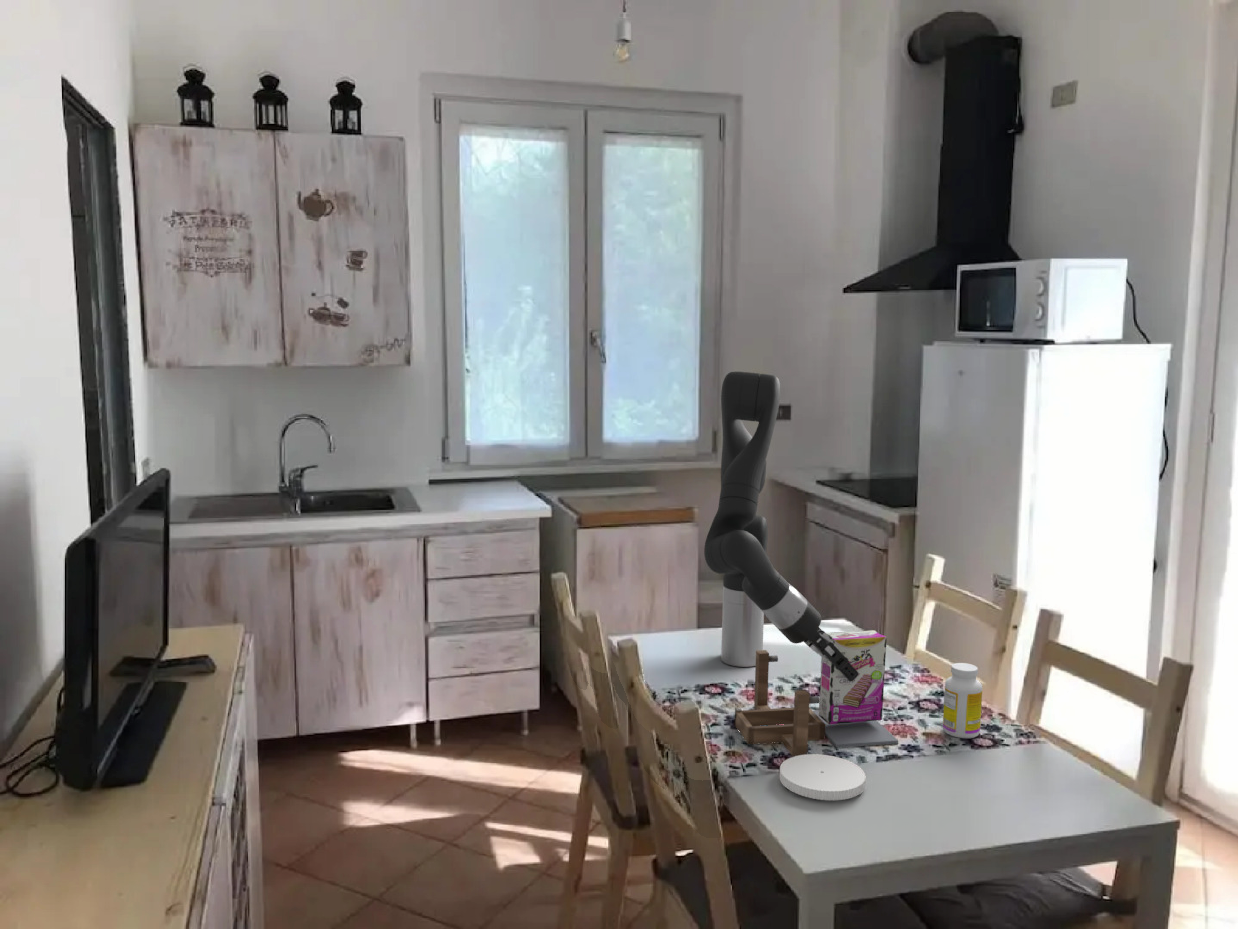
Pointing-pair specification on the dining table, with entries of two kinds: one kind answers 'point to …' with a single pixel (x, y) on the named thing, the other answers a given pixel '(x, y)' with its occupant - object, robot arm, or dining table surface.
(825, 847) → the dining table surface
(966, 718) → the supplement bottle
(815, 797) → the plastic lid
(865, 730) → the slate mat
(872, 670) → the candy bar box
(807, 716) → the walnut holder
